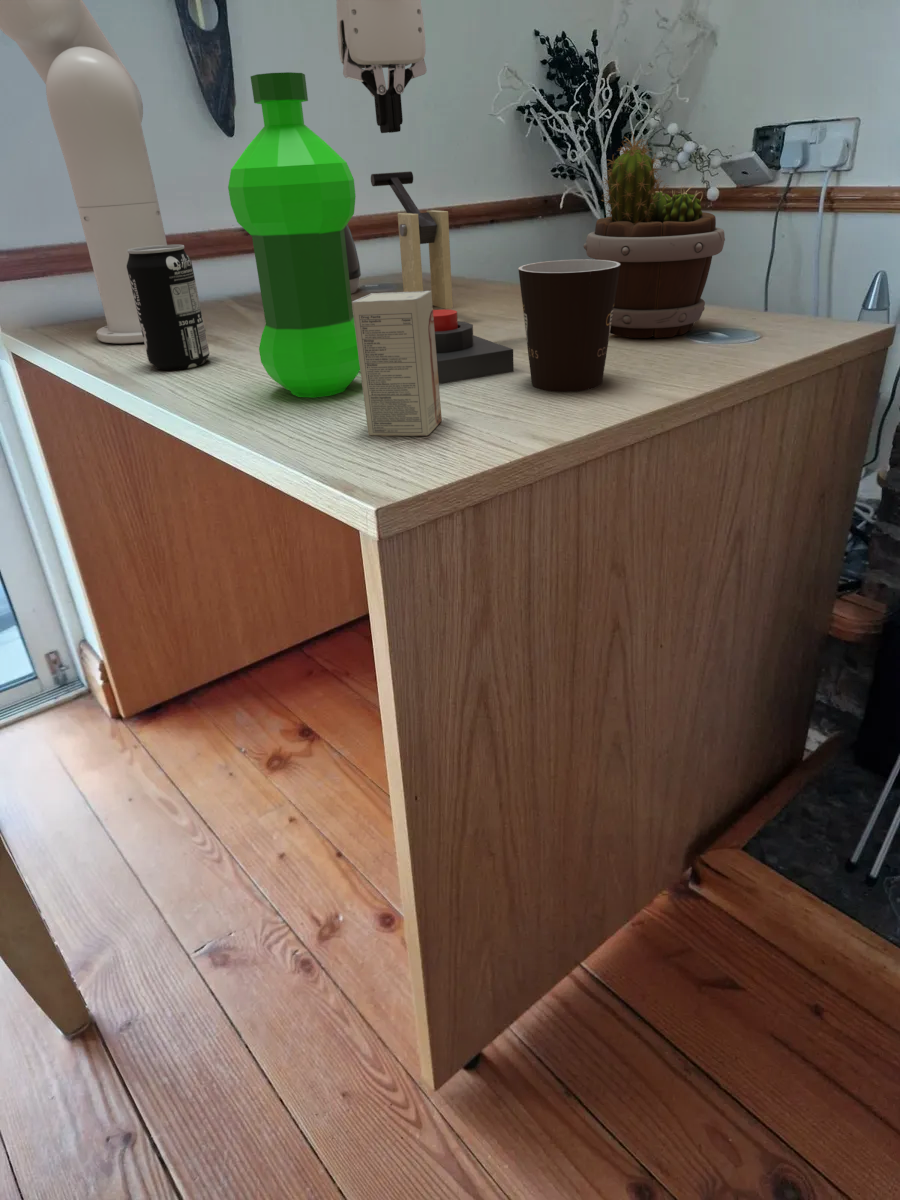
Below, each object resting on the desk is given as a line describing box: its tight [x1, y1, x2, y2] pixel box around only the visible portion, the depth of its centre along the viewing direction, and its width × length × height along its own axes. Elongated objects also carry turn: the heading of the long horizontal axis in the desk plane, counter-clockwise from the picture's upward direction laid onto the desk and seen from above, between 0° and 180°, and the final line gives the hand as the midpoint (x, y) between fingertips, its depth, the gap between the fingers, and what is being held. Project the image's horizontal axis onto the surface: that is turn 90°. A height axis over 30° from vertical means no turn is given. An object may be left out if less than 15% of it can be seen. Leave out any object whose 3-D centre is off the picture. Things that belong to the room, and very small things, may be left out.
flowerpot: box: [583, 130, 726, 339], centre depth 87 cm, size 14×15×20 cm
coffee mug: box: [517, 259, 620, 393], centre depth 71 cm, size 12×9×10 cm
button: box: [433, 308, 459, 331], centre depth 78 cm, size 4×4×2 cm
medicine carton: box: [352, 290, 443, 437], centre depth 61 cm, size 5×4×10 cm
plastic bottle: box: [227, 71, 360, 399], centre depth 69 cm, size 10×10×25 cm
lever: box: [370, 171, 437, 245], centre depth 102 cm, size 13×6×2 cm
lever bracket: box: [397, 209, 454, 310], centre depth 102 cm, size 10×8×13 cm
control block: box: [435, 320, 515, 385], centre depth 80 cm, size 12×10×4 cm
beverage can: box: [127, 244, 210, 371], centre depth 86 cm, size 7×7×12 cm
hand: (390, 131), depth 102 cm, fingers closed
